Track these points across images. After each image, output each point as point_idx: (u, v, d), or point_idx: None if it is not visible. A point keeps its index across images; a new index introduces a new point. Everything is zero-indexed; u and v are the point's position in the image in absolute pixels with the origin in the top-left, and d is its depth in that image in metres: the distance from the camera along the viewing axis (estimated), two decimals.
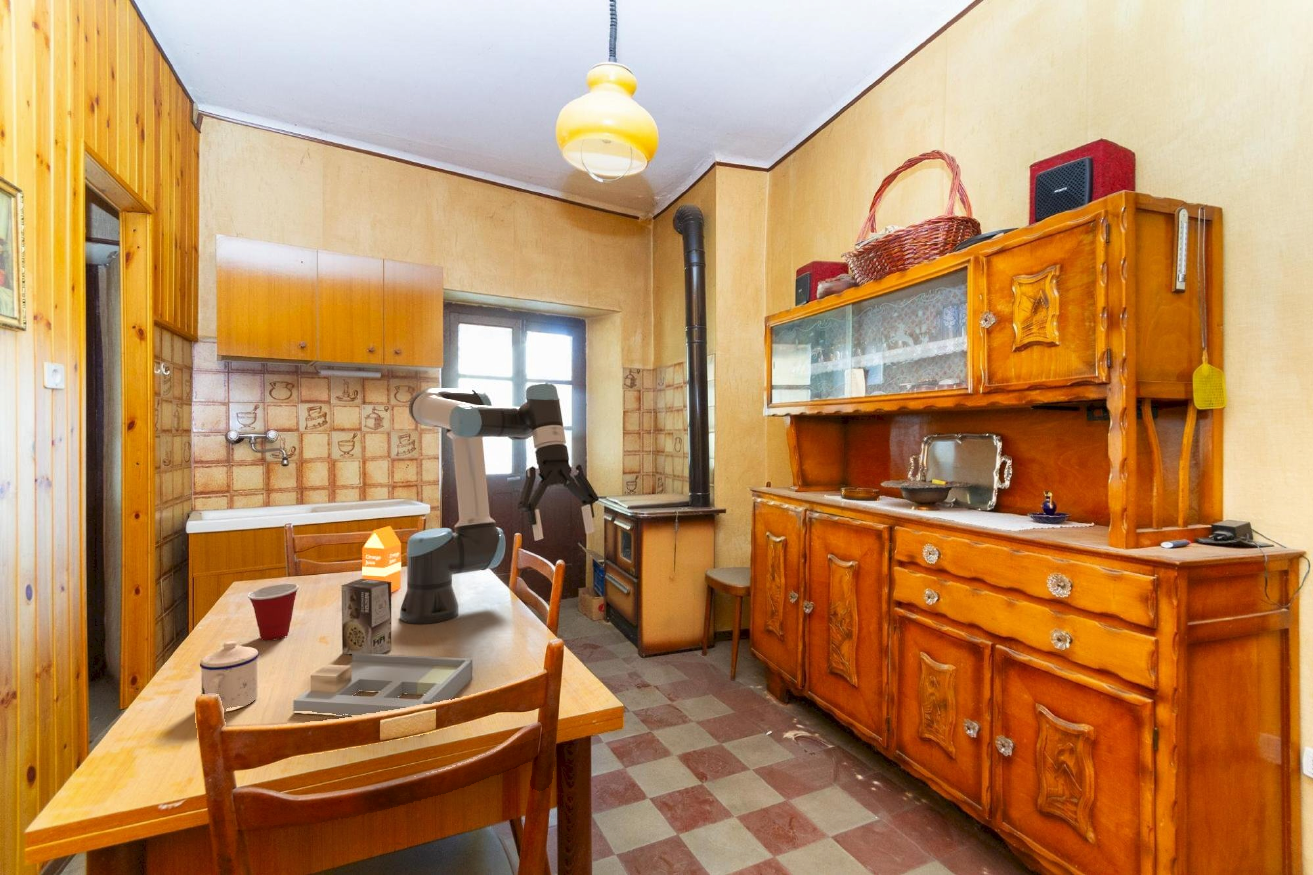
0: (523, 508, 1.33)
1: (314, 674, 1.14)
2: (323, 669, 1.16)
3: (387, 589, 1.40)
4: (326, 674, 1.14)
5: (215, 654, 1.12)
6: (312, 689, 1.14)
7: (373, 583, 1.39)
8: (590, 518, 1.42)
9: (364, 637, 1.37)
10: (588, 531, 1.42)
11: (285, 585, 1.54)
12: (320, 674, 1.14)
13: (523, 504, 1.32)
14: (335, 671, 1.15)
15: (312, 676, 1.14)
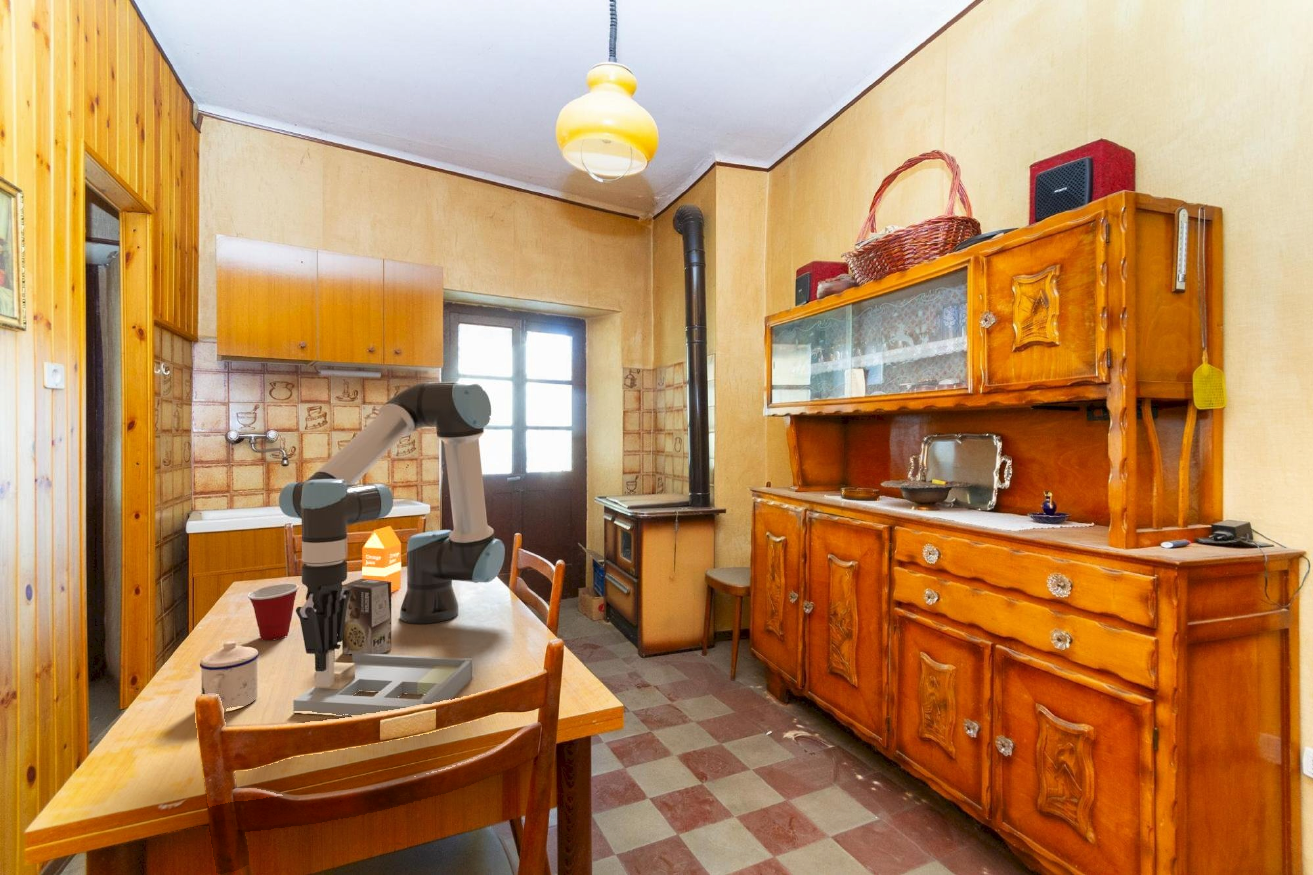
0: None
1: None
2: None
3: (387, 589, 1.40)
4: None
5: (215, 654, 1.12)
6: None
7: (373, 583, 1.40)
8: None
9: (364, 637, 1.37)
10: None
11: (285, 585, 1.54)
12: None
13: None
14: (339, 669, 1.17)
15: None
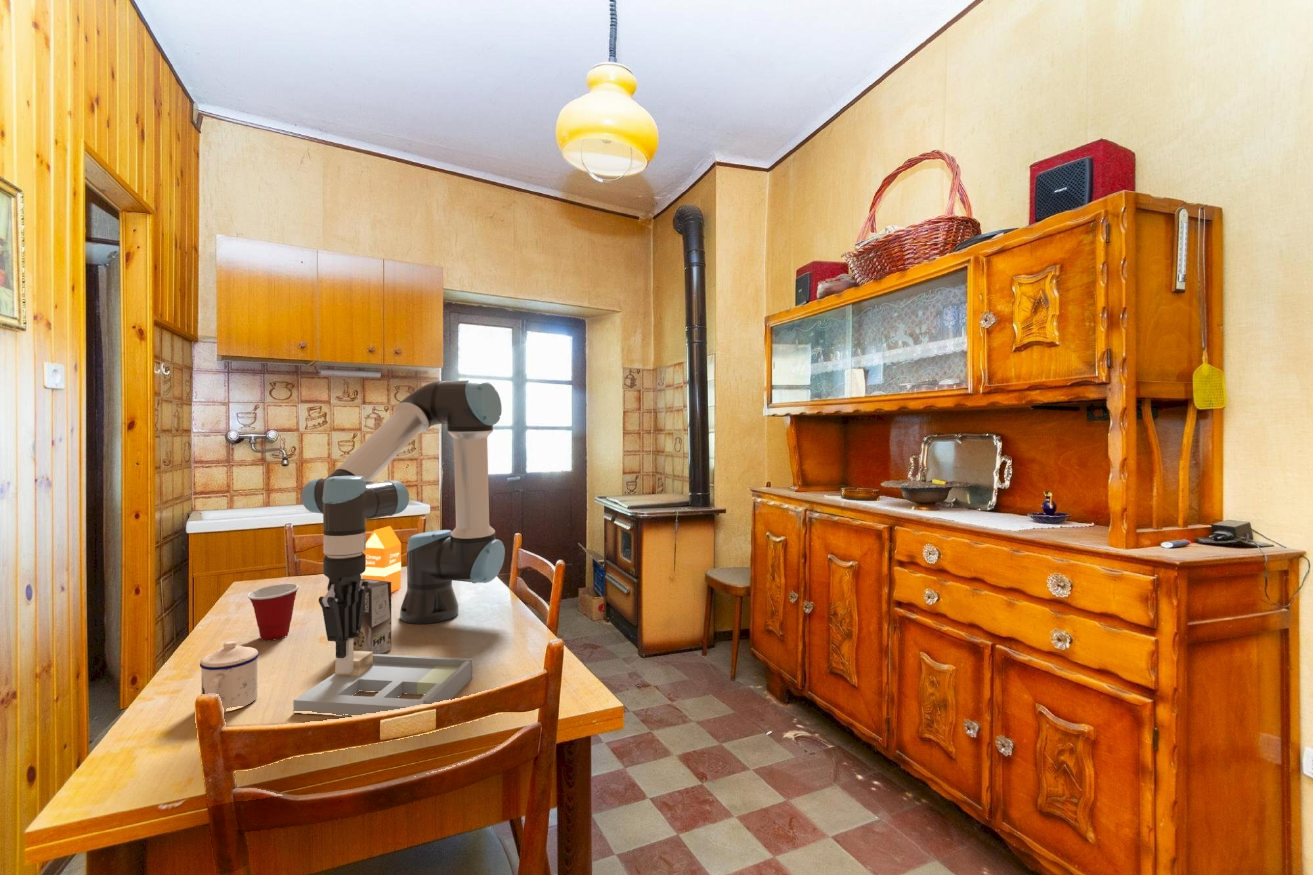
0: None
1: None
2: None
3: (387, 589, 1.40)
4: None
5: (215, 654, 1.12)
6: (336, 673, 1.21)
7: (373, 583, 1.39)
8: None
9: (364, 637, 1.37)
10: None
11: (285, 585, 1.54)
12: None
13: None
14: (358, 657, 1.23)
15: None
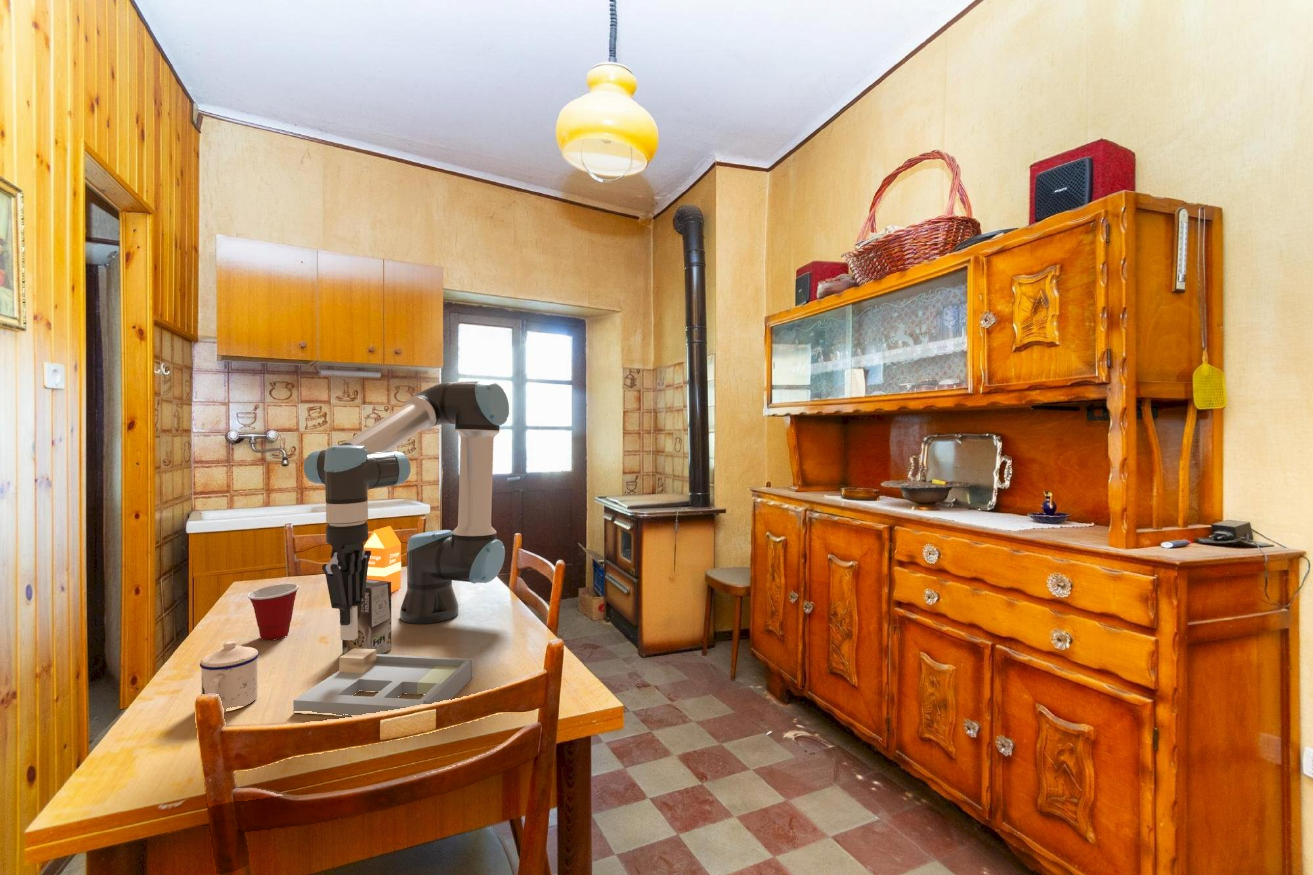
0: None
1: (342, 656, 1.23)
2: (350, 652, 1.25)
3: (387, 589, 1.40)
4: (354, 656, 1.23)
5: (215, 654, 1.12)
6: (341, 670, 1.23)
7: (373, 583, 1.39)
8: None
9: (364, 637, 1.37)
10: None
11: (285, 585, 1.54)
12: (348, 656, 1.23)
13: None
14: (361, 654, 1.24)
15: (341, 658, 1.23)
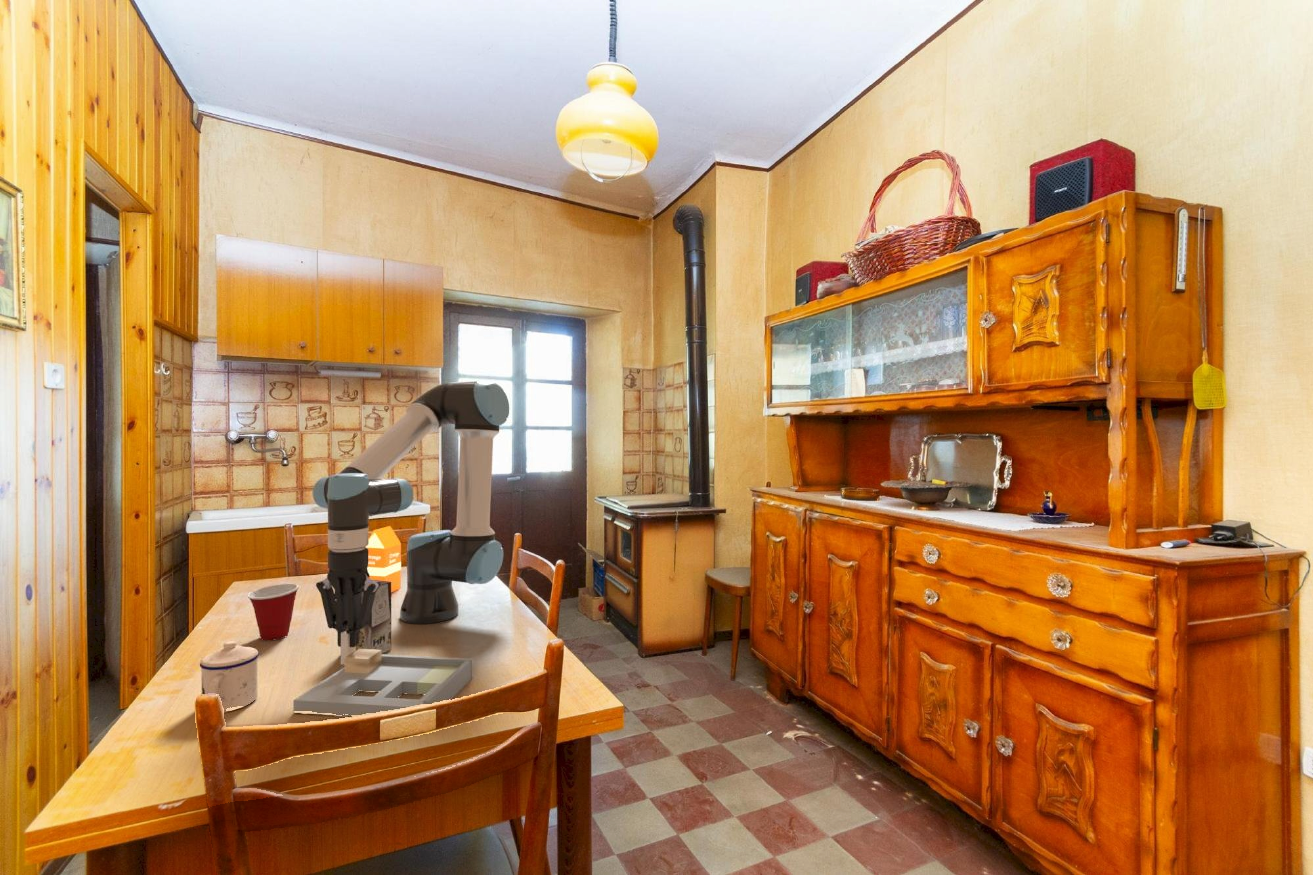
0: None
1: (348, 657, 1.23)
2: (355, 653, 1.25)
3: (387, 589, 1.40)
4: (359, 657, 1.23)
5: (215, 654, 1.12)
6: (346, 671, 1.22)
7: None
8: (345, 649, 1.23)
9: (364, 637, 1.37)
10: None
11: (285, 585, 1.54)
12: (353, 657, 1.23)
13: (328, 626, 1.24)
14: (367, 655, 1.24)
15: (346, 659, 1.22)
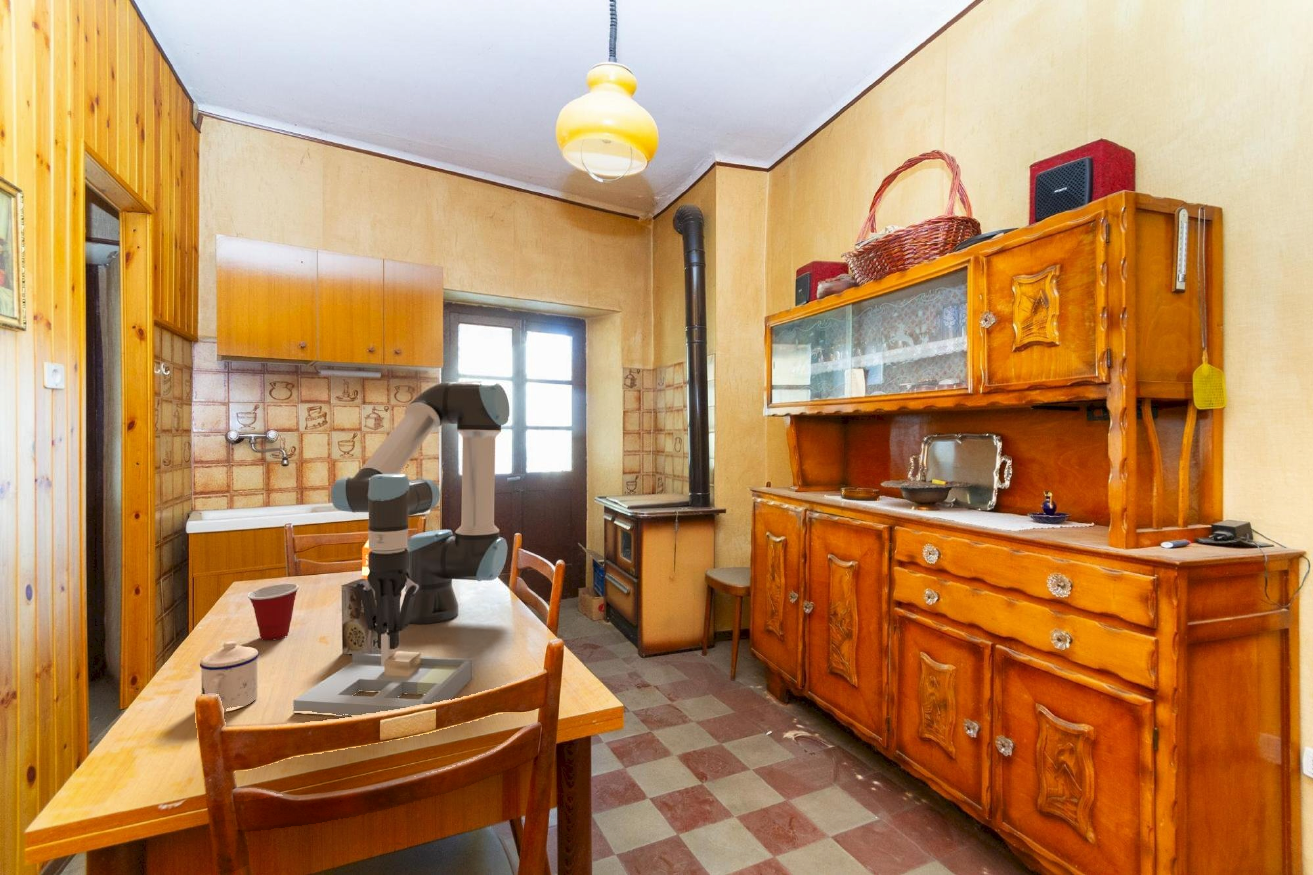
0: None
1: (387, 660, 1.22)
2: (394, 655, 1.24)
3: None
4: (399, 660, 1.21)
5: (215, 654, 1.12)
6: (386, 674, 1.21)
7: None
8: (385, 650, 1.23)
9: (364, 637, 1.37)
10: None
11: (285, 585, 1.54)
12: (393, 660, 1.22)
13: (369, 628, 1.23)
14: (406, 657, 1.23)
15: (386, 661, 1.21)
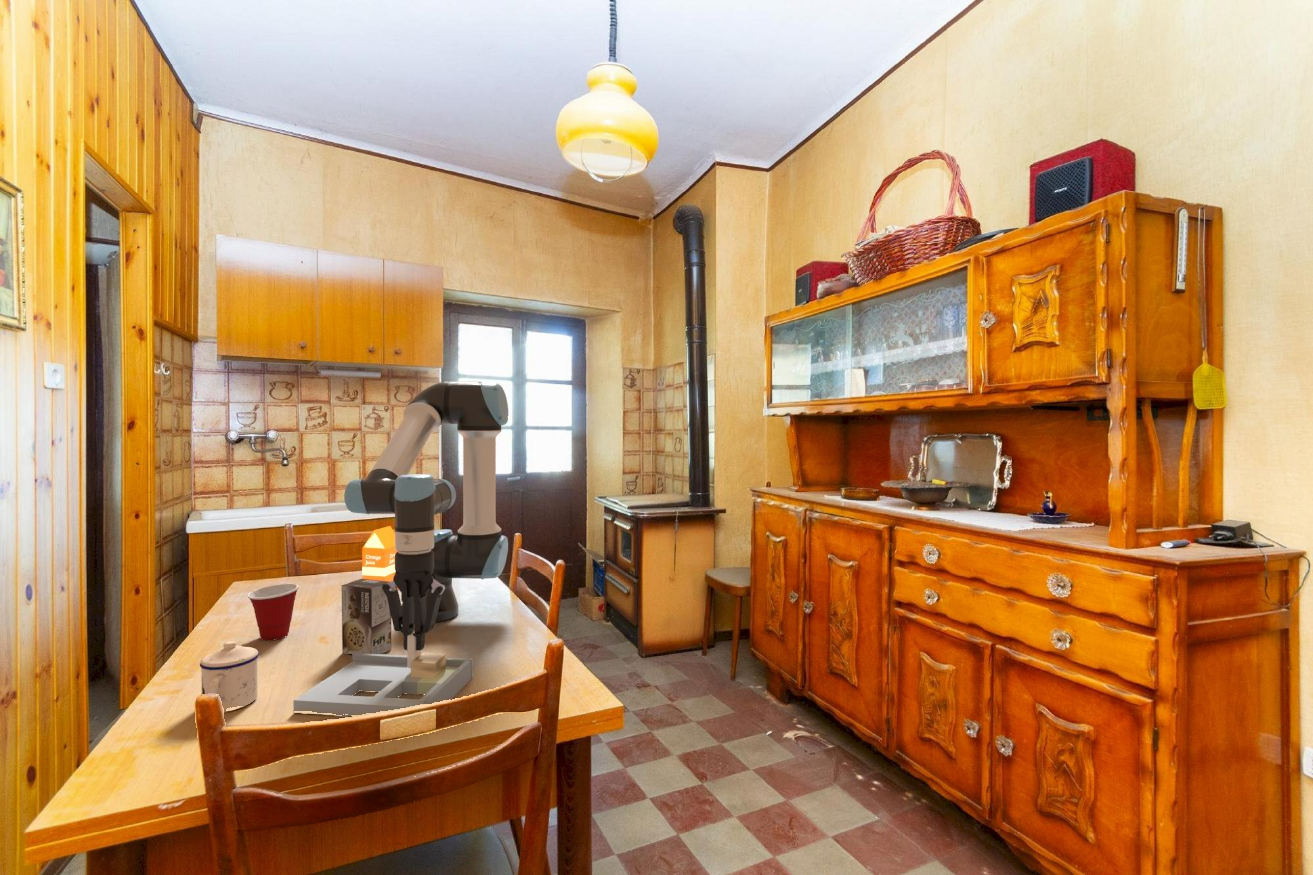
0: None
1: (414, 661, 1.21)
2: (420, 657, 1.23)
3: None
4: (425, 661, 1.21)
5: (215, 654, 1.12)
6: (412, 675, 1.21)
7: (373, 583, 1.39)
8: (411, 652, 1.22)
9: (364, 637, 1.37)
10: None
11: (285, 585, 1.54)
12: (419, 661, 1.21)
13: (395, 629, 1.22)
14: (432, 659, 1.22)
15: (412, 663, 1.21)
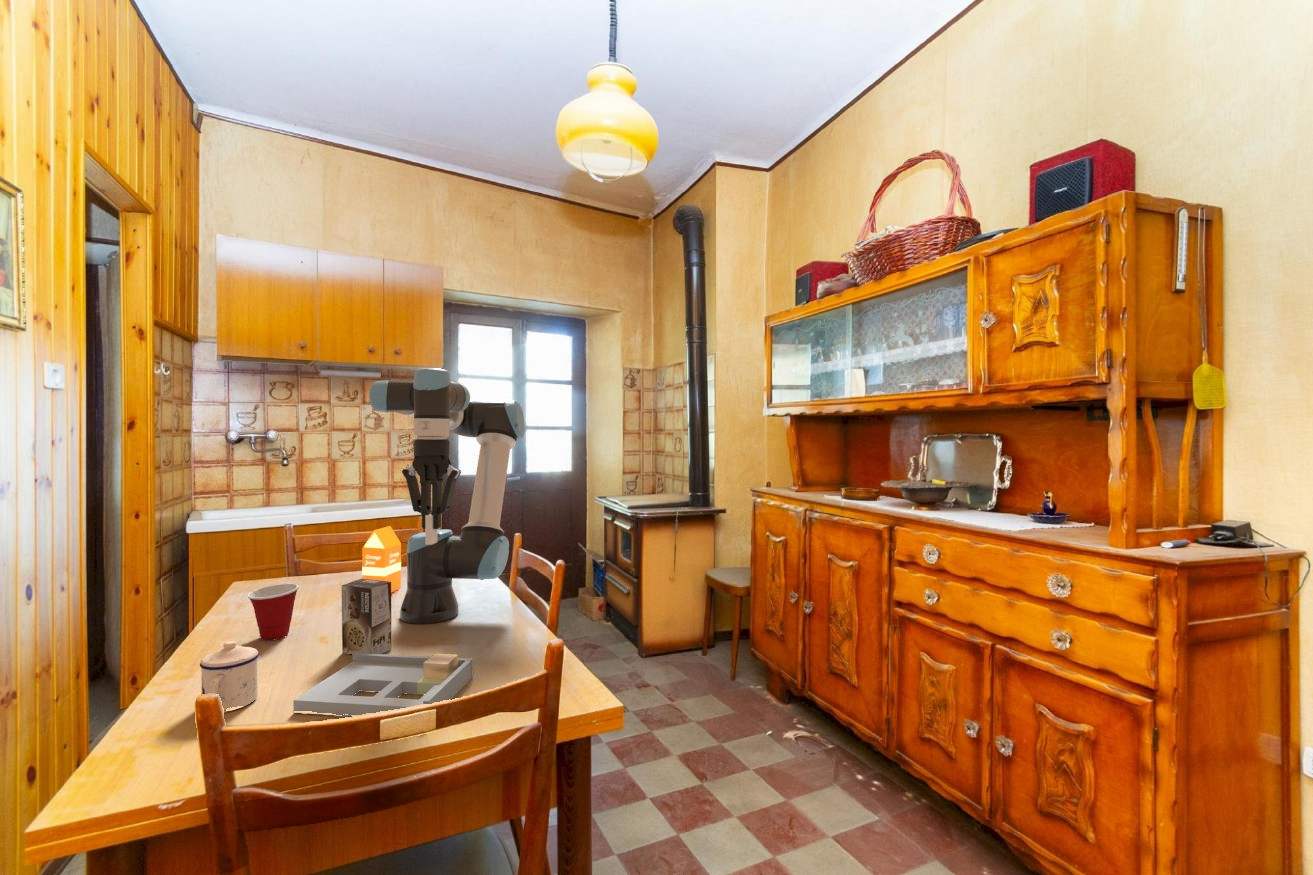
0: None
1: (426, 662, 1.21)
2: (432, 658, 1.23)
3: (387, 589, 1.40)
4: (438, 662, 1.21)
5: (215, 654, 1.12)
6: (425, 676, 1.20)
7: (373, 583, 1.39)
8: (429, 530, 1.34)
9: (364, 637, 1.37)
10: None
11: (285, 585, 1.54)
12: (432, 662, 1.21)
13: (414, 509, 1.34)
14: (445, 660, 1.22)
15: (425, 664, 1.20)
